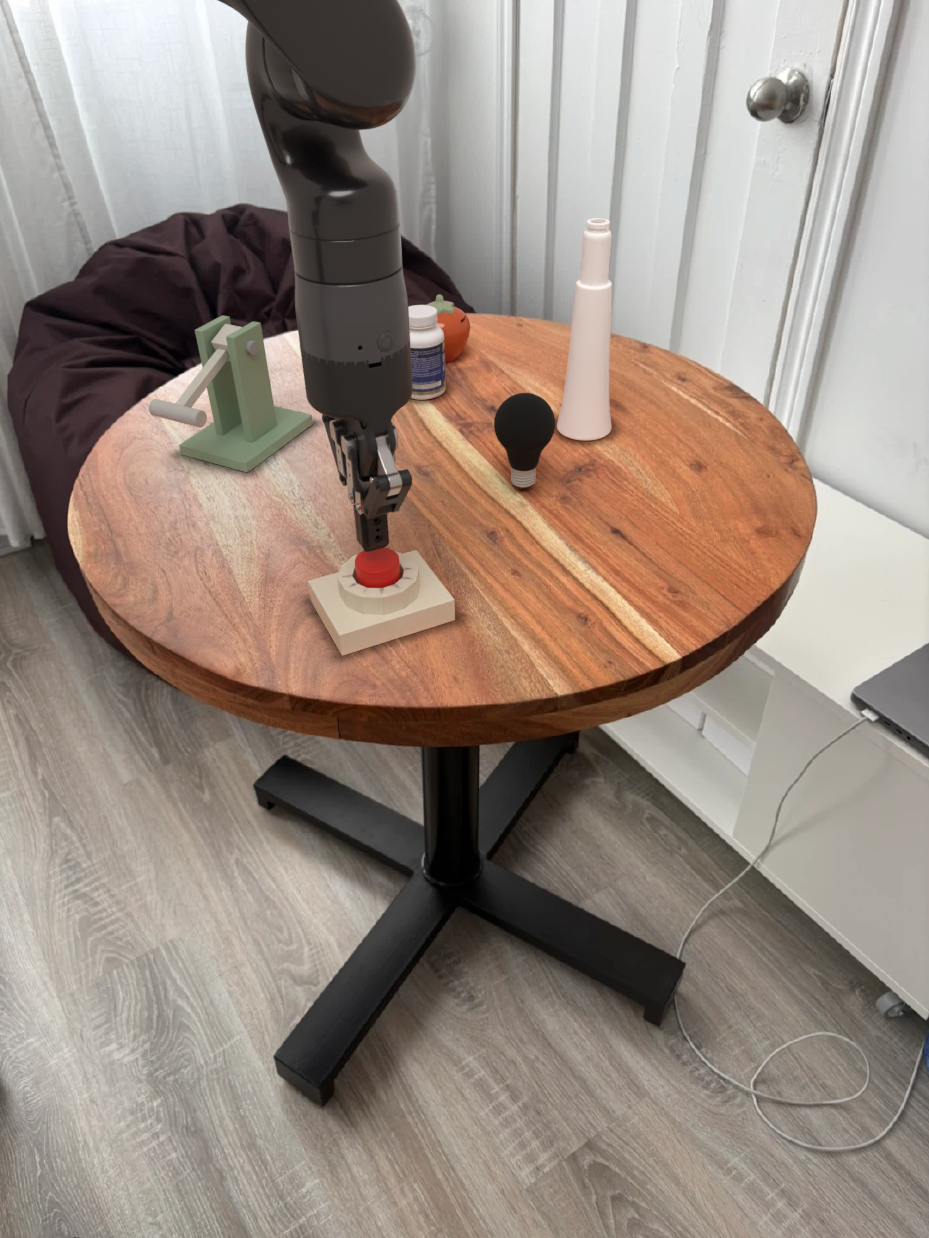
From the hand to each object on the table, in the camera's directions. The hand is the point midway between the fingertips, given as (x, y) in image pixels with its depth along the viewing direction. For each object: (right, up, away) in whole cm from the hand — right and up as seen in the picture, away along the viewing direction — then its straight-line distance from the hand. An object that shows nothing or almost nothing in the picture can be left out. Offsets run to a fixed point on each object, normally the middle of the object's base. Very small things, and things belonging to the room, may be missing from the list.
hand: (373, 545), depth 74 cm
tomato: (+4, +28, +45) cm, 53 cm away
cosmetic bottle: (+21, +15, +29) cm, 38 cm away
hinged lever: (-19, +18, +20) cm, 33 cm away
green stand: (-17, +14, +28) cm, 36 cm away
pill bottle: (+2, +21, +37) cm, 43 cm away
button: (0, -2, +2) cm, 3 cm away
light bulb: (+13, +7, +19) cm, 24 cm away
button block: (0, -5, +4) cm, 7 cm away
